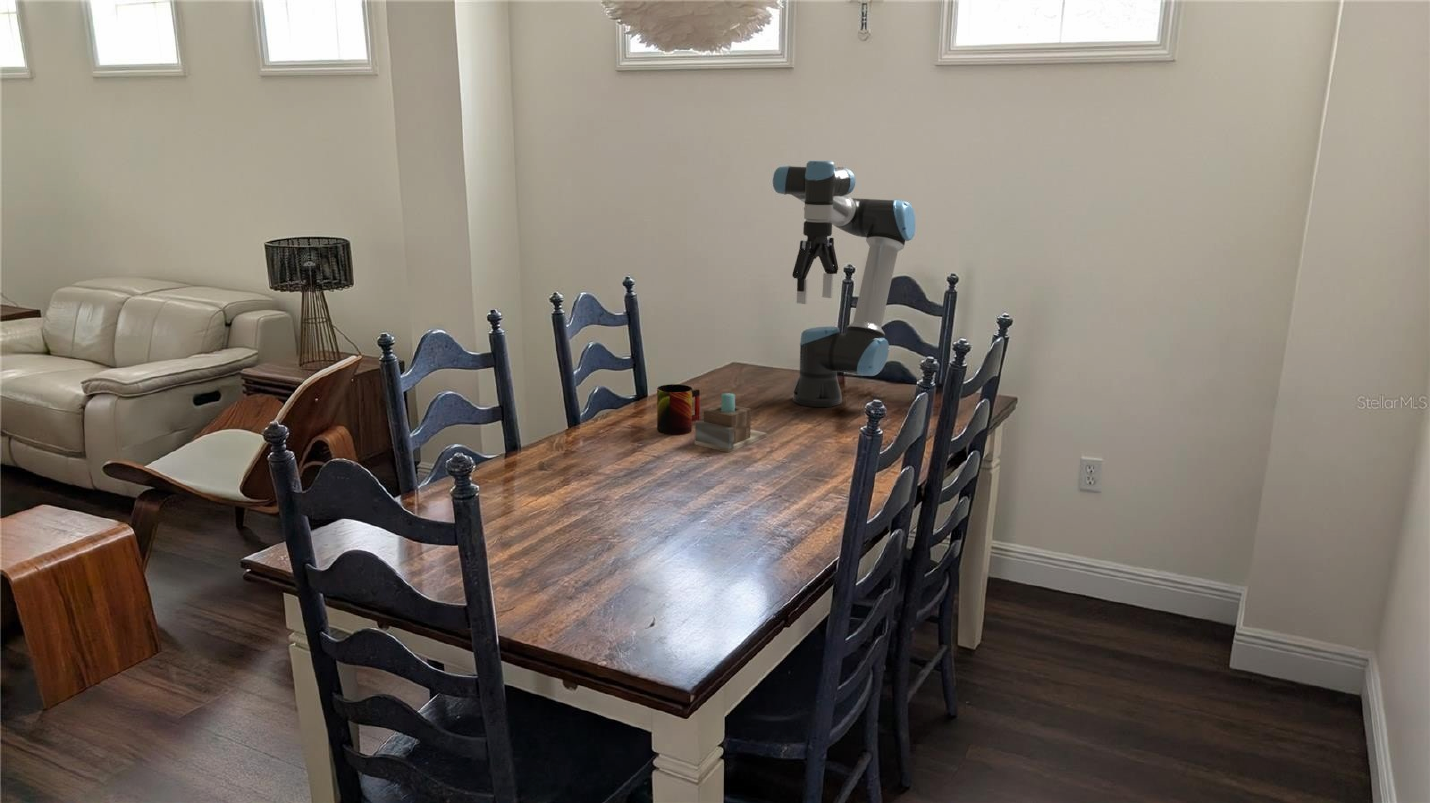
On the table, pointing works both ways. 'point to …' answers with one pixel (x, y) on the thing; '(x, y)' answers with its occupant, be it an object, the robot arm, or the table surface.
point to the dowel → (728, 402)
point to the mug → (676, 409)
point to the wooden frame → (721, 436)
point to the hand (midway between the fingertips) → (814, 300)
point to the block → (731, 420)
